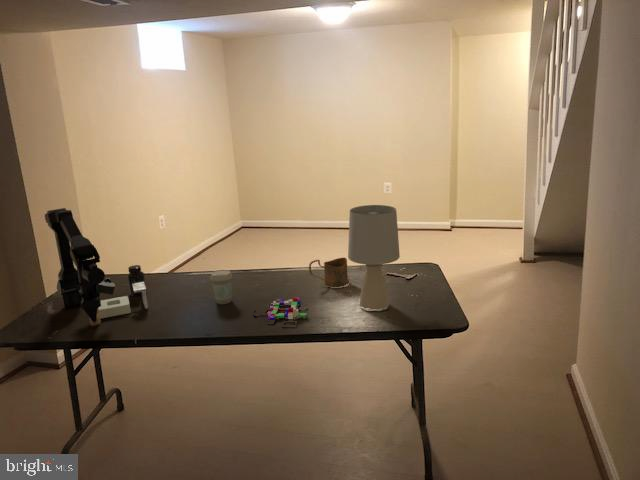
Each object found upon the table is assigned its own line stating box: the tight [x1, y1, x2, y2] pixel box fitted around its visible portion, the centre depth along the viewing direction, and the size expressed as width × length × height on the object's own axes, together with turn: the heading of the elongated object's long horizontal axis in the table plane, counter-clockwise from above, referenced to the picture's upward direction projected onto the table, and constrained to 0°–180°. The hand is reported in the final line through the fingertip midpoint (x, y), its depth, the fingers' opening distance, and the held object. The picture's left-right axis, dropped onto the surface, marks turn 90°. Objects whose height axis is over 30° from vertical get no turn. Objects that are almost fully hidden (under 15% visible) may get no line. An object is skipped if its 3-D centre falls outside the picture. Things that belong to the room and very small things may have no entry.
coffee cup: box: [210, 269, 233, 305], centre depth 200 cm, size 8×9×12 cm
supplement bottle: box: [126, 264, 148, 297], centre depth 213 cm, size 7×7×12 cm
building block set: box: [267, 297, 308, 321], centre depth 188 cm, size 25×20×4 cm
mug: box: [308, 257, 350, 287], centre depth 213 cm, size 12×18×12 cm, turn 115°
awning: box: [132, 282, 149, 310], centre depth 200 cm, size 4×9×8 cm, turn 24°
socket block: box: [99, 295, 132, 320], centre depth 197 cm, size 11×10×4 cm
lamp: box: [347, 204, 401, 309], centre depth 185 cm, size 19×19×37 cm
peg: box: [88, 308, 102, 327], centre depth 186 cm, size 4×4×8 cm
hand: (94, 317), depth 186 cm, fingers open, 7 cm apart
